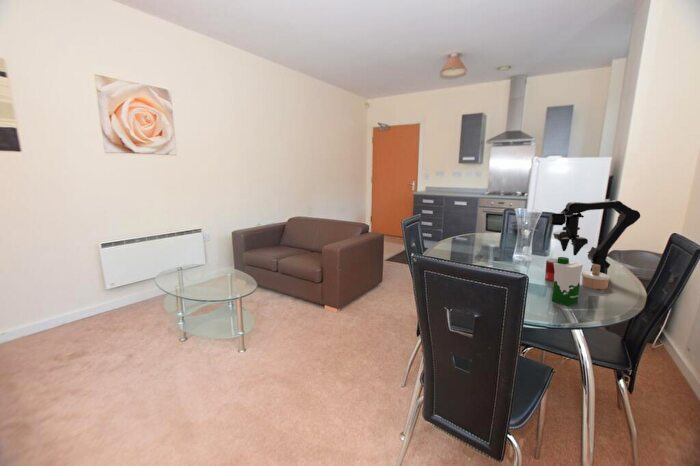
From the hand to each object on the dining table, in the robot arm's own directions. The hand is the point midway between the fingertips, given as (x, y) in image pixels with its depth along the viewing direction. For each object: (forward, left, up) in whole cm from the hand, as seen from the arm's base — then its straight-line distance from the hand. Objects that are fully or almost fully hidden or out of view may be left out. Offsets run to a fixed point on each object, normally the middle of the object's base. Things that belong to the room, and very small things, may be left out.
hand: (569, 253), depth 170 cm
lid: (-2, +18, -8) cm, 20 cm away
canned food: (+12, +8, -13) cm, 19 cm away
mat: (+8, +24, -12) cm, 28 cm away
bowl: (-2, +18, -12) cm, 22 cm away
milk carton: (+24, +37, -13) cm, 46 cm away
